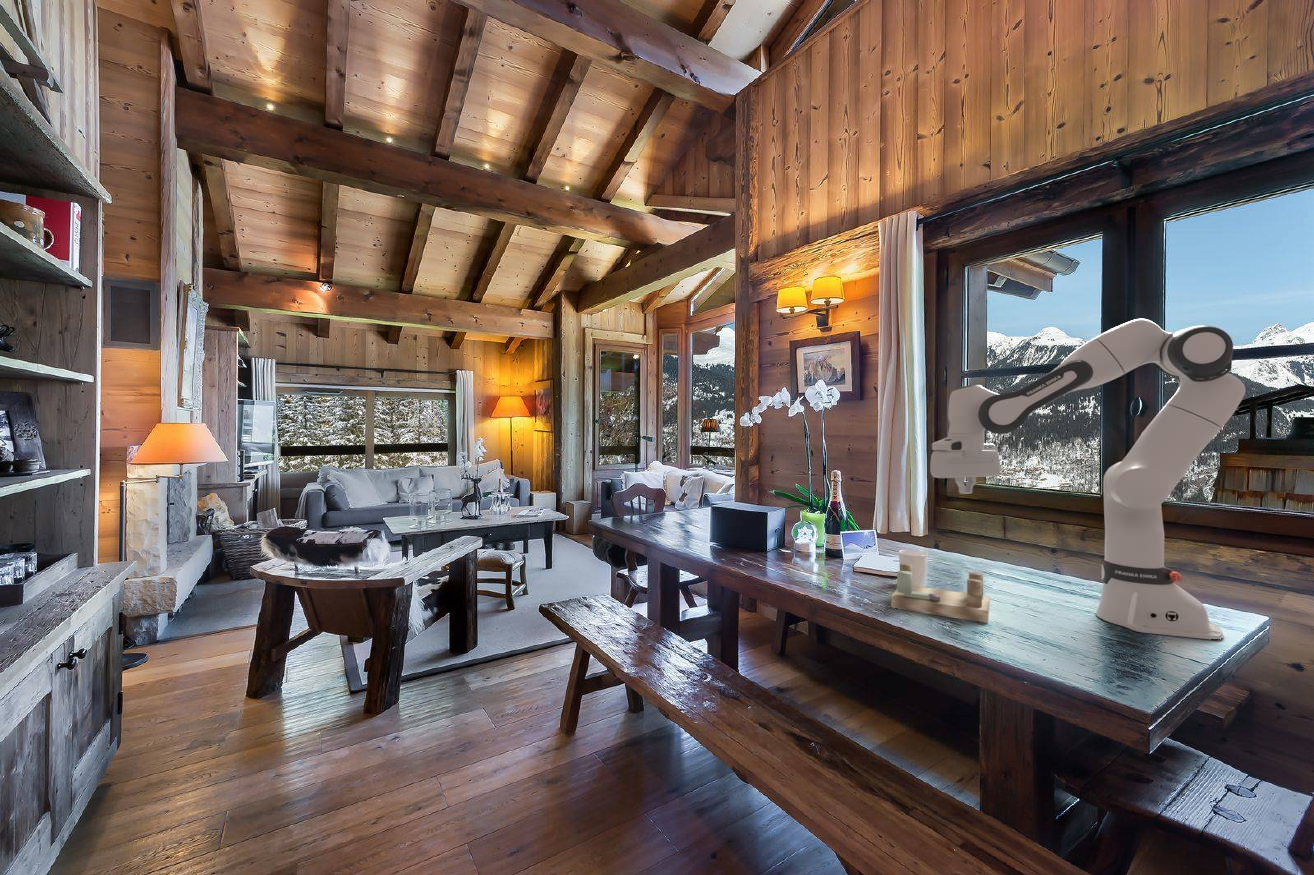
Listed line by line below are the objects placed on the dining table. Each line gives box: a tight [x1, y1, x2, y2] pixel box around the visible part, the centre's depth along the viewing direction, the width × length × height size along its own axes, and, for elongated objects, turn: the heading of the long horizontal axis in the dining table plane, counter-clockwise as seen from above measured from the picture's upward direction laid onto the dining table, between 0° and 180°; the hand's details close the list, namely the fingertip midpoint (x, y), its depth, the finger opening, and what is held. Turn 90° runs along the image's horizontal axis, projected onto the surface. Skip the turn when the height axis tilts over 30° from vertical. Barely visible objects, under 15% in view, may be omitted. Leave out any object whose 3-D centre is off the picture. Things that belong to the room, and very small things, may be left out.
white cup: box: [898, 549, 929, 588], centre depth 167 cm, size 8×8×10 cm
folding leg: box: [896, 570, 940, 601], centre depth 145 cm, size 10×4×6 cm, turn 59°
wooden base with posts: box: [890, 563, 991, 624], centre depth 146 cm, size 22×14×9 cm, turn 58°
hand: (965, 493), depth 155 cm, fingers closed
